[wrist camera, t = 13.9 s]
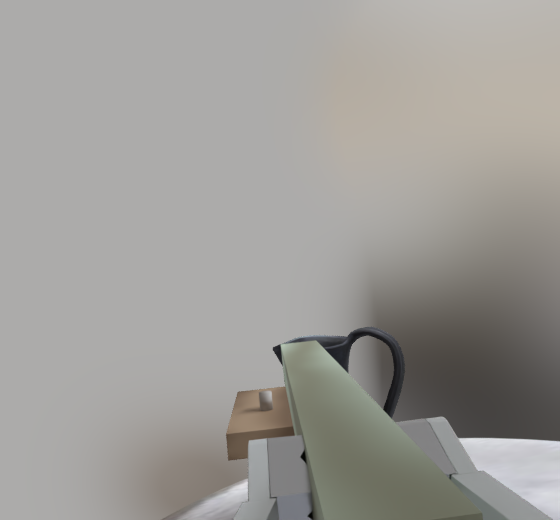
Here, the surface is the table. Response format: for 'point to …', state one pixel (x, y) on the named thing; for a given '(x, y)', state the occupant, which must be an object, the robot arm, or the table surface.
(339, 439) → the bar
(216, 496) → the table surface
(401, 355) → the pitcher
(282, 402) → the shelf stand
